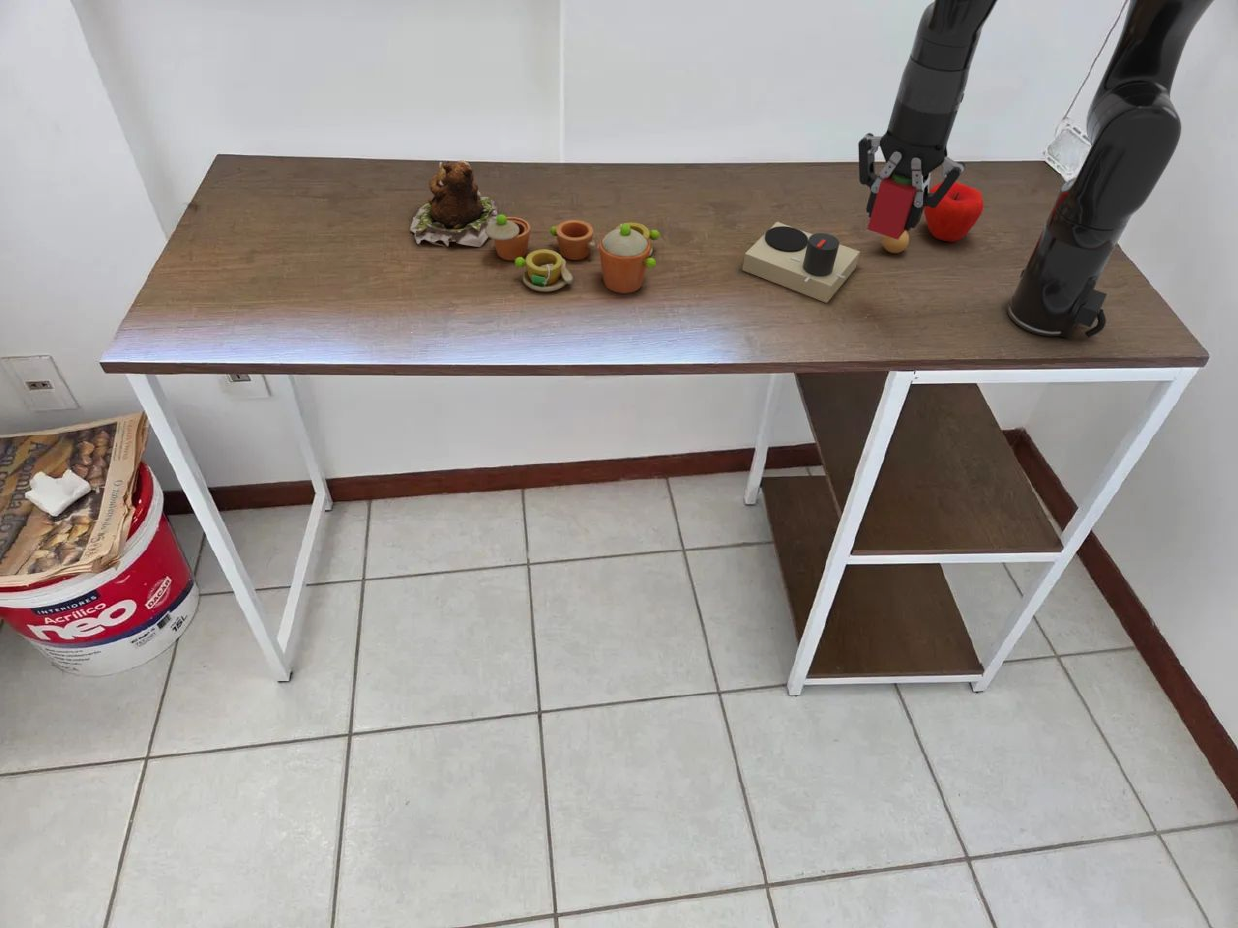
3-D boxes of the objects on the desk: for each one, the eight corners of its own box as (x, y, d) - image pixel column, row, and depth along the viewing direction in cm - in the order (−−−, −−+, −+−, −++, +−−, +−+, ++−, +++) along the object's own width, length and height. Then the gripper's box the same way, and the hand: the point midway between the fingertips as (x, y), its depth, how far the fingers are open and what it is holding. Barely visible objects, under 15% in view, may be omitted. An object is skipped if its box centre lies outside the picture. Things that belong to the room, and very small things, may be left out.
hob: (860, 270, 134) (865, 252, 132) (828, 309, 127) (833, 291, 124) (773, 238, 139) (777, 220, 137) (737, 274, 132) (740, 256, 129)
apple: (905, 224, 143) (918, 180, 138) (951, 217, 146) (966, 173, 140) (934, 254, 138) (950, 209, 132) (981, 246, 140) (999, 202, 134)
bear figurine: (507, 202, 143) (503, 130, 134) (489, 253, 133) (483, 179, 124) (425, 194, 144) (416, 123, 135) (401, 244, 133) (389, 171, 125)
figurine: (908, 267, 135) (932, 196, 126) (869, 264, 135) (890, 193, 126) (901, 237, 141) (923, 168, 132) (863, 234, 141) (883, 165, 132)
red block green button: (910, 224, 119) (928, 171, 114) (897, 240, 116) (914, 186, 111) (880, 213, 121) (896, 160, 115) (867, 229, 118) (882, 176, 112)
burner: (814, 237, 134) (815, 235, 134) (796, 257, 130) (797, 255, 130) (776, 223, 136) (776, 221, 136) (757, 242, 132) (757, 240, 132)
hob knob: (809, 256, 130) (816, 227, 127) (837, 265, 129) (844, 237, 125) (797, 269, 128) (804, 241, 124) (825, 280, 126) (832, 251, 123)
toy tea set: (656, 239, 137) (660, 183, 130) (664, 298, 127) (669, 241, 120) (489, 237, 136) (484, 180, 129) (483, 297, 125) (478, 238, 118)
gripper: (862, 91, 106) (830, 216, 118) (977, 125, 101) (932, 252, 113) (884, 71, 110) (852, 194, 123) (996, 102, 105) (950, 227, 118)
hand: (890, 221), depth 118 cm, fingers closed on red block green button, 4 cm apart
